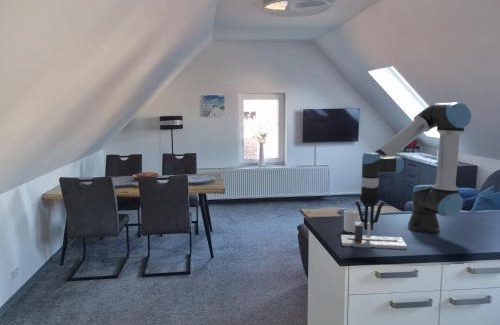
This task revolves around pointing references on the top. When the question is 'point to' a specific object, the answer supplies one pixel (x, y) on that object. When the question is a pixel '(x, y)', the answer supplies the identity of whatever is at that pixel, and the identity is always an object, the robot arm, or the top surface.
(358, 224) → the fader tab
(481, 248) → the top surface
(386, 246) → the fader console
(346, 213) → the mug
